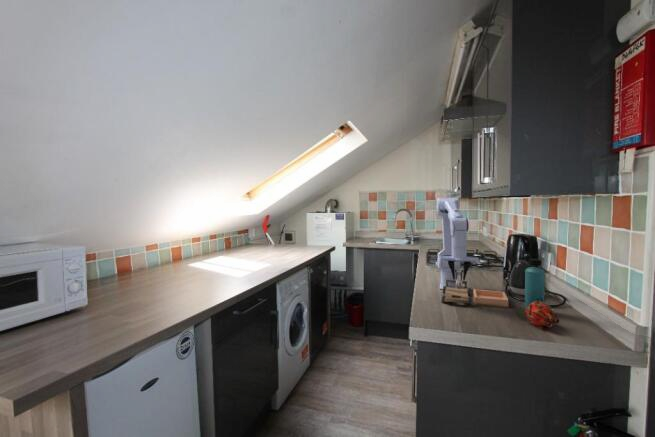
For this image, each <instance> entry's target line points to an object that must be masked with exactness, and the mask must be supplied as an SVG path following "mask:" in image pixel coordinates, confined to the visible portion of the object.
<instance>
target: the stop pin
mask: <svg viewBox="0 0 655 437" xmlns="http://www.w3.org/2000/svg"><path fill="white" fill-rule="evenodd" d="M455 272H456V288H458V289H462V287H463V283H462V281H463V273H464V269H461V268H459V269H455Z"/></svg>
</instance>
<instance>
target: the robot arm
mask: <svg viewBox="0 0 655 437" xmlns="http://www.w3.org/2000/svg"><path fill="white" fill-rule="evenodd" d="M460 206H461V203H460V198H459V197H458V196H456V197H437V199H436V214H437V216H440V218H441V228H442V229H441V230H442V250H441V251H439V252H438V253H437V260H436V262H437V268H438V269H439V270H440V284H439V290H443V286H446V280H456V272H455V269H461V263H463V273H462V281H466V278H467V277H466V276H467V273H468V271H469V269H470V267H471V264H473V263H474V264H479V257H472V256H467V247H468V246H467V245H468V234H467V233H468V232H469V228H470V223H469V218H468V217H464V215H463V213H462V211H461V210H460ZM448 286H454V287H456V283H450V282H448Z"/></svg>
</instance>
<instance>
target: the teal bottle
mask: <svg viewBox="0 0 655 437" xmlns="http://www.w3.org/2000/svg"><path fill="white" fill-rule="evenodd" d="M528 264H529V265H533V266H534V267H529V268H527V269H526V270H525V296H524V303H523V304H524V306H525V308H527V307H528V306H529V305H530V304H531V303H533V302H538V301H539V302H543V303H544V304H545V302H546V298H545V294H546V293H545V286H546V279H545V277H546V276H545V274H546V272H545V270H544V269H542V268H541V267H542V260H541V259H539V258H529V259H528ZM540 266H541V267H540Z"/></svg>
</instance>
